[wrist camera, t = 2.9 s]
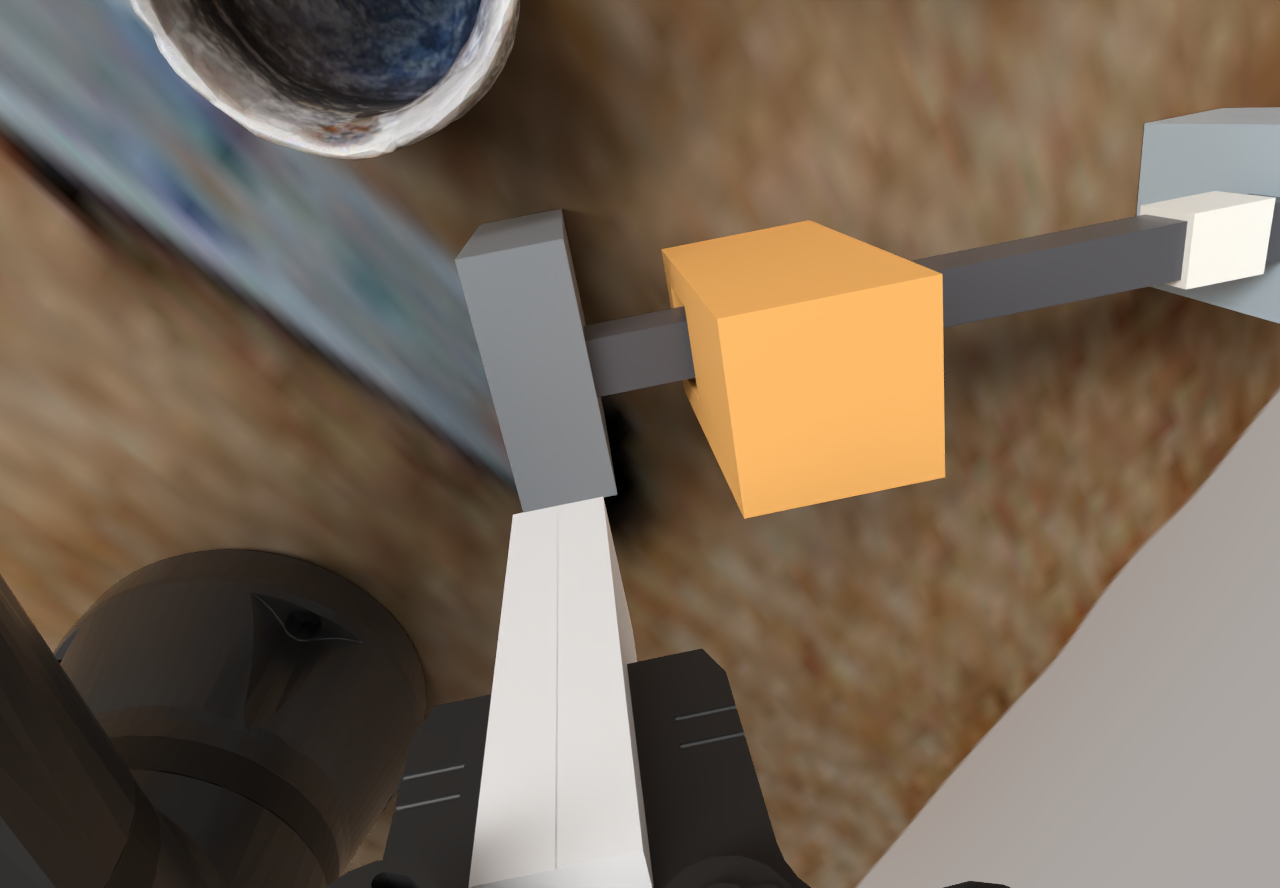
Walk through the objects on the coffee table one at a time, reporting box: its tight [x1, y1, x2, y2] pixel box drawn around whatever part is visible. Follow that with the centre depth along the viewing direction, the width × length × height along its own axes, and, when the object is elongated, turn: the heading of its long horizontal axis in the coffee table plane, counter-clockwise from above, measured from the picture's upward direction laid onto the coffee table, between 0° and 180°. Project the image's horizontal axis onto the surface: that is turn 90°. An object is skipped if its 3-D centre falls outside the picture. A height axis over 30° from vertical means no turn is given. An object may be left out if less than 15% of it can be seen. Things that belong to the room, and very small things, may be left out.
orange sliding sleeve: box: [661, 220, 945, 519], centre depth 22 cm, size 5×5×10 cm
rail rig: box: [455, 107, 1280, 513], centre depth 25 cm, size 29×8×9 cm, turn 100°
